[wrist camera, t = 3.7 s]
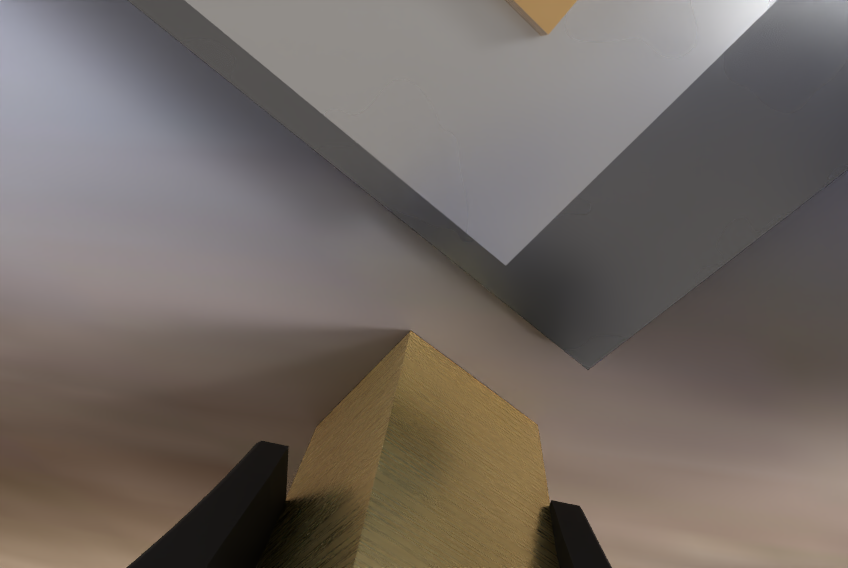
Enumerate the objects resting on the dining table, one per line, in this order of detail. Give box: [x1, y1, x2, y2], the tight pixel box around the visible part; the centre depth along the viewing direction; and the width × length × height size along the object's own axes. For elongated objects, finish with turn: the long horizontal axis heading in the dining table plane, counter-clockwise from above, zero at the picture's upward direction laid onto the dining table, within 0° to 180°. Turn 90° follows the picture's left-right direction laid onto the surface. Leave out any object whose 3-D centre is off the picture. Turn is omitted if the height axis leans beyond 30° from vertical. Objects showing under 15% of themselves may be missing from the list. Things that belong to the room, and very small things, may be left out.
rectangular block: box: [256, 331, 560, 568], centre depth 9 cm, size 4×4×8 cm
